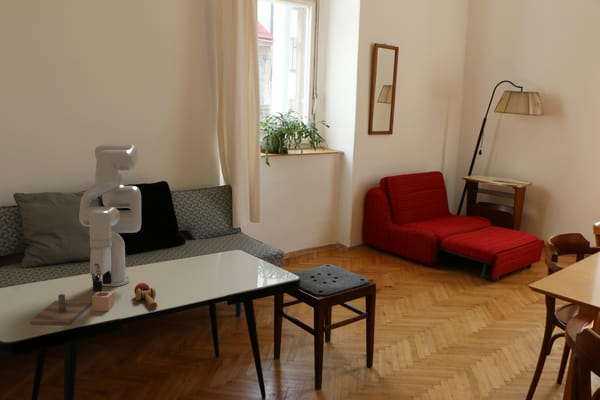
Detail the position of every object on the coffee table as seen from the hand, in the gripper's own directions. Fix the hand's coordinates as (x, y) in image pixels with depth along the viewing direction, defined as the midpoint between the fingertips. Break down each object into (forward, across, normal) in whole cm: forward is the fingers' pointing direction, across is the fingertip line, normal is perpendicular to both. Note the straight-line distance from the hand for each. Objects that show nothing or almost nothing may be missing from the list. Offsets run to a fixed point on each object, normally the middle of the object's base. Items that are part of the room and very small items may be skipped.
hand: (102, 287), depth 199 cm
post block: (+8, +5, -13) cm, 16 cm away
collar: (+8, -1, 0) cm, 8 cm away
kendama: (+9, -9, +14) cm, 19 cm away
